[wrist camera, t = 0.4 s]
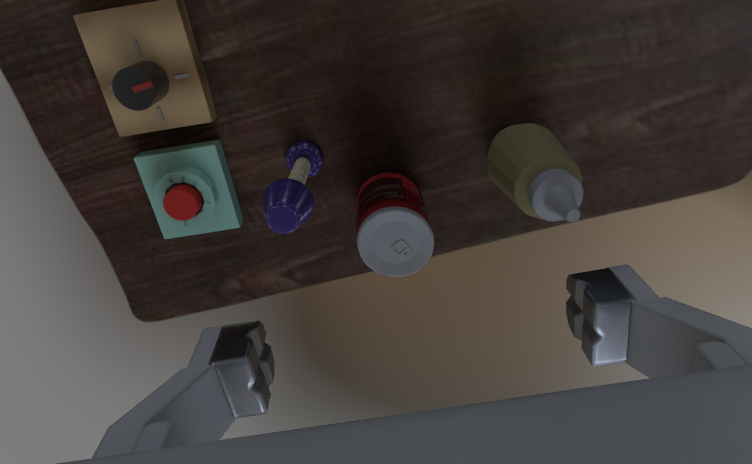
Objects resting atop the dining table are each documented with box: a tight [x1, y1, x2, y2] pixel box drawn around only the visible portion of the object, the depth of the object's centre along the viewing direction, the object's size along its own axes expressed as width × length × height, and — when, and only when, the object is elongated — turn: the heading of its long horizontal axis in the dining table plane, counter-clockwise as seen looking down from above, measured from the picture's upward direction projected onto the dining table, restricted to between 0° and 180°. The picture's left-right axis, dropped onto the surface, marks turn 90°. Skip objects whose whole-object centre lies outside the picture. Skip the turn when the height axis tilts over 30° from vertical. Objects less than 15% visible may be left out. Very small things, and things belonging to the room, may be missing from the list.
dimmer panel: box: [73, 0, 218, 137], centre depth 53 cm, size 12×10×3 cm
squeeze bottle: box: [486, 123, 583, 222], centre depth 51 cm, size 8×8×18 cm
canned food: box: [356, 172, 434, 277], centre depth 57 cm, size 8×8×11 cm
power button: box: [163, 184, 202, 221], centre depth 56 cm, size 4×4×2 cm
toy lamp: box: [263, 141, 323, 234], centre depth 51 cm, size 5×5×17 cm
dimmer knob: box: [112, 61, 169, 111], centre depth 50 cm, size 4×4×4 cm
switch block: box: [134, 139, 243, 239], centre depth 58 cm, size 10×9×4 cm
